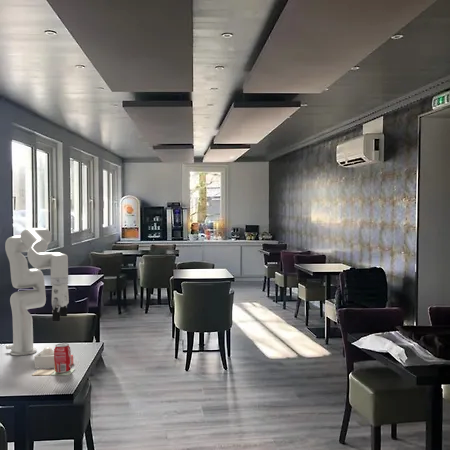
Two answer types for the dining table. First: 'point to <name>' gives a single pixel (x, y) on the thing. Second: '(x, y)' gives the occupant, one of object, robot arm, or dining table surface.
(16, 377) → the dining table surface
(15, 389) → the dining table surface
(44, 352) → the dome
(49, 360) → the base
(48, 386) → the dining table surface
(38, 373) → the beige and green board
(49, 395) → the dining table surface
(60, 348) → the soda can
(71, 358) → the die
